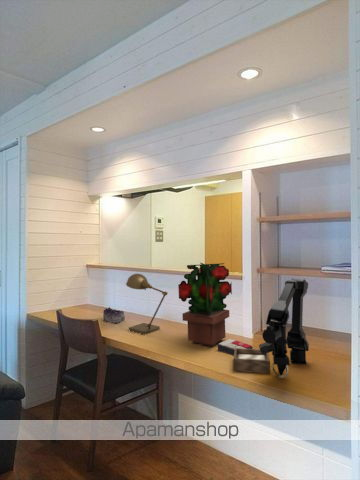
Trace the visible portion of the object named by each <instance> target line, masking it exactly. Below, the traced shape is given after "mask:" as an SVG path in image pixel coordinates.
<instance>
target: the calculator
mask: <svg viewBox="0 0 360 480" xmlns="http://www.w3.org/2000/svg"><path fill="white" fill-rule="evenodd" d="M235 348H244V349H254V347H253V346H252V345H251V344H248V343H244V342H242V341H239V340H234V339H232V338H229V339H227V340H224V341H221V342H218V343H217V351H219V352H221V353H226V354H229V355H232V356H234V351H235Z"/></svg>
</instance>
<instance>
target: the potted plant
mask: <svg viewBox="0 0 360 480" xmlns="http://www.w3.org/2000/svg"><path fill="white" fill-rule="evenodd" d="M224 264H225V263H224V262H223V263H203V262H199V264H187V265H186V268H187V270H191V271H190V273H185V274H184V275H183V278H184V279H185V280H182V281H180V283H179V284H178V299H179V300H181V301H182V302H183V303H184V302H186V301H187V299H189V300H188V301H187V304H189V306H188V308H187V309H188V311H185V312H183V313H182V321H184V322H185V321H186V322H187V340H188V341H190V342H192V344H195V345H199V346H202V347H204V346H205V347H208V348H212V347H213V346H215V345H216V344H217V345H218V344H219V343H221V342H222V340H223V339H225V338H226V319H227V318H230V310H229V309H226V308H227V307H228V305H227V304H226V303H224V300H225V299H226V298H227V296H229V295H230V294H231V295H233V292H232V291H233V288H232V287H233V286H232V282H230V281H227V280H226V279H227V277H229V275H230V270H229V268H226V266H225V265H224ZM197 266H199V267H197ZM186 280H187V281H186ZM225 280H226V281H225Z"/></svg>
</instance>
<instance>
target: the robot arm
mask: <svg viewBox="0 0 360 480" xmlns="http://www.w3.org/2000/svg"><path fill="white" fill-rule="evenodd" d="M308 289H309V282H308V281H307V280H306V278H305V279H304V278H290V279H287V280H285V281H284V286H283V289H282V292H281V294H280V296H279V298H278V300H277V302H275V303H274V304H272V306H271V307H270V309H269V311H268V314H267V318H266V321H265V325H268V326H266V329H264V330H263V331H262V334H261V335H262V339H263V341H264V342H263V343H260V344H258V349H260V351H261V353H262V355H264V354H266V353H269V354H270V353H271V356H272V362H273V363H274V364H275V365H276V366H277V370H278V375H282V376H283V374H284V372H285V370H286V366H289V365H290V363H292V364H299V365H305V364H308V363H307V360H306V358H307V357H306V355H307V353H306V352H309V349H310V344H309V341H308V340H307V338H306V337H307V336H306V335H307V334H306V333H305V331H304V329H303V315H304V314H303V312H304V311H303V309H304V297H305V296H306V294H307V293H308ZM291 301H292V307H291V328H290V329H289V331H287V325H288V322H289V318H290V311H289V306H290V304H291ZM287 348H288V349H289V356H288V350H287Z"/></svg>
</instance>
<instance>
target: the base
mask: <svg viewBox="0 0 360 480" xmlns="http://www.w3.org/2000/svg"><path fill="white" fill-rule="evenodd" d="M270 359H271V358H270V352H269V353H266V354H264V355H262V353H261V351H260V348H253V349H244V348H235V351H234V355H233V360H232V361H233V371H234V370H236V371H235V372H243V371H251V372H250V373H260V372H261V373H262V374H263V373H265V374H271V360H270Z"/></svg>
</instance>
